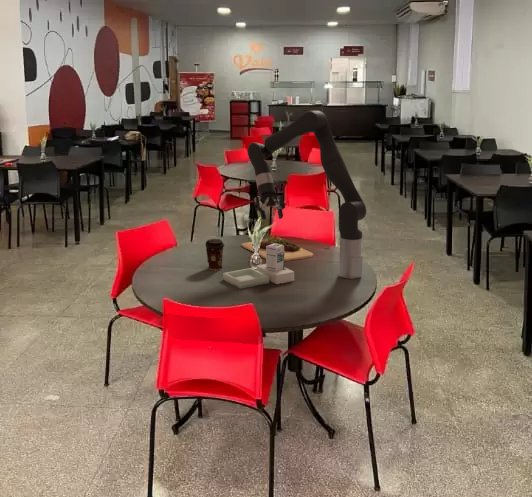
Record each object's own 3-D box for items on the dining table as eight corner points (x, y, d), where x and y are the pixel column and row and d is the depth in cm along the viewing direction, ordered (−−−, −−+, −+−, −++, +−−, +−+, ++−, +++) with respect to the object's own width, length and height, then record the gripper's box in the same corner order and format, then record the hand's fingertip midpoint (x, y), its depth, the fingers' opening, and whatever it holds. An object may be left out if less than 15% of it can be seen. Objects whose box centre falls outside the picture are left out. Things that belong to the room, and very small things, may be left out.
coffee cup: (201, 269, 290) (201, 241, 287) (211, 264, 297) (211, 237, 294) (218, 272, 286) (217, 244, 283) (228, 267, 294) (227, 239, 290)
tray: (268, 283, 273) (268, 276, 272) (240, 288, 265) (239, 281, 264) (251, 274, 284) (251, 267, 283) (223, 279, 277) (223, 273, 276)
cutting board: (239, 246, 331) (239, 232, 329) (279, 241, 341) (279, 227, 339) (272, 264, 301) (272, 249, 299) (315, 258, 312) (315, 242, 310)
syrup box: (276, 280, 276) (277, 247, 272) (265, 277, 280) (265, 245, 276) (284, 277, 280) (284, 244, 277) (273, 274, 284) (273, 242, 280)
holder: (294, 280, 276) (294, 271, 275) (276, 284, 271) (276, 275, 270) (273, 271, 289) (273, 262, 288) (256, 274, 284) (256, 265, 283)
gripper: (255, 182, 286) (262, 216, 282) (282, 181, 293) (290, 215, 289) (247, 188, 292) (255, 222, 288) (275, 187, 299) (282, 220, 296)
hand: (272, 218), depth 289 cm, fingers open, 8 cm apart
